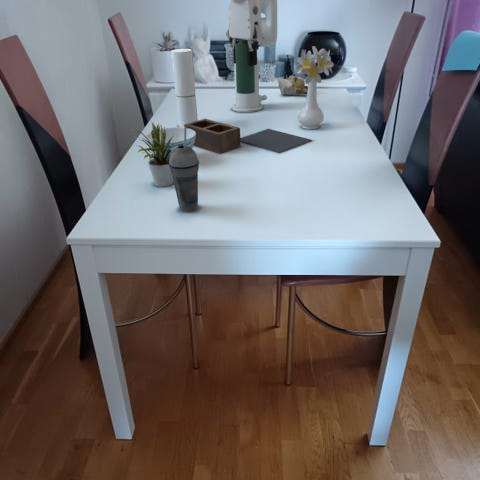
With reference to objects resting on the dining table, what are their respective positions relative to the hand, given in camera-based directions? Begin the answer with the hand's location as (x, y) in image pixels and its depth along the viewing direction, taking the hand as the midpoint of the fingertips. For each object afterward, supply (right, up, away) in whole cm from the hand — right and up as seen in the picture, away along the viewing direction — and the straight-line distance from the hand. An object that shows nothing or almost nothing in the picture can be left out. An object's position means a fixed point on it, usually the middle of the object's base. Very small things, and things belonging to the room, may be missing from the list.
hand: (245, 63), depth 149 cm
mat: (+10, -18, +16) cm, 26 cm away
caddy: (-11, -19, +15) cm, 27 cm away
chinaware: (-22, -28, +4) cm, 36 cm away
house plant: (-24, -39, -10) cm, 47 cm away
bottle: (0, -6, +5) cm, 8 cm away
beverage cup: (-15, -50, -25) cm, 58 cm away
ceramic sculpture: (+22, +21, +67) cm, 74 cm away
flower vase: (+24, -9, +27) cm, 37 cm away
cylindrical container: (-21, -6, +34) cm, 40 cm away
